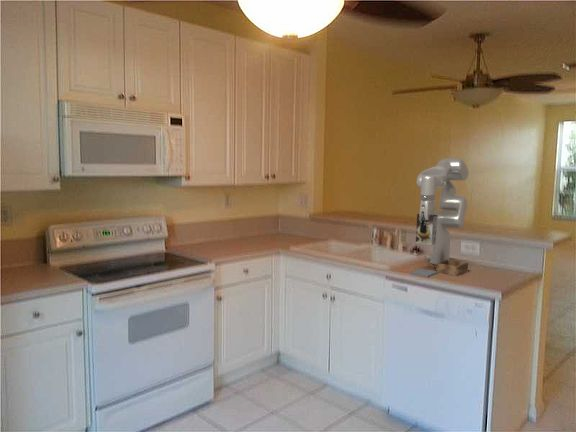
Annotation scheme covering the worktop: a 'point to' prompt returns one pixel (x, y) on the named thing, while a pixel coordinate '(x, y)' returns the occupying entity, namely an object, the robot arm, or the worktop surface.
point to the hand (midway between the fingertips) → (426, 231)
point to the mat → (424, 272)
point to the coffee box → (427, 231)
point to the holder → (452, 267)
